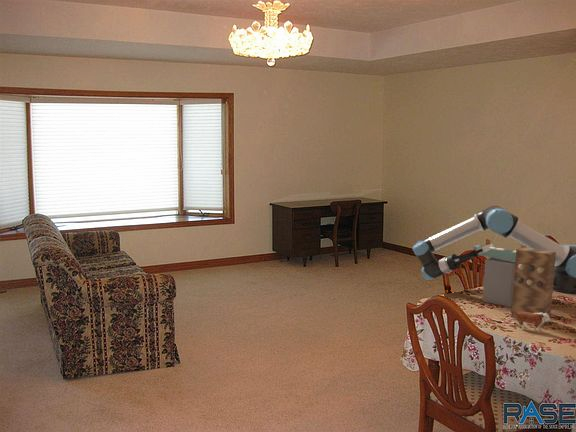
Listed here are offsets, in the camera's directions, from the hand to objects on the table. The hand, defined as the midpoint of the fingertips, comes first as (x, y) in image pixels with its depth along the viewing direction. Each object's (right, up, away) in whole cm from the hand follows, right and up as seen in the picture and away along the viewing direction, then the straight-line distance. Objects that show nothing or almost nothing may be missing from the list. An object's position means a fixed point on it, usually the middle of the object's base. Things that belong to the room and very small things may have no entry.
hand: (491, 246), depth 289 cm
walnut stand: (+9, -30, -25) cm, 40 cm away
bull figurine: (+4, -32, -39) cm, 50 cm away
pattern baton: (+3, -5, -2) cm, 6 cm away
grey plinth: (+4, -26, 0) cm, 26 cm away
